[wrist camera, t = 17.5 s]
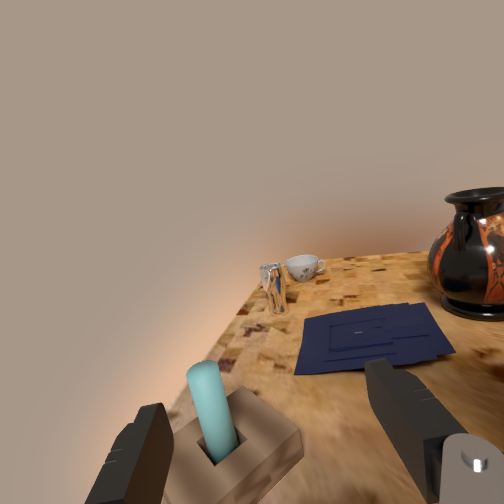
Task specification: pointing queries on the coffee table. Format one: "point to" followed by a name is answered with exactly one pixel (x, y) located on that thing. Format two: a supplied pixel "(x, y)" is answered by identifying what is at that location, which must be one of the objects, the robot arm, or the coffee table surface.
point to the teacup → (303, 267)
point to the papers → (370, 338)
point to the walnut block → (234, 456)
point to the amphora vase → (471, 256)
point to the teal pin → (212, 409)
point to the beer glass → (274, 288)
